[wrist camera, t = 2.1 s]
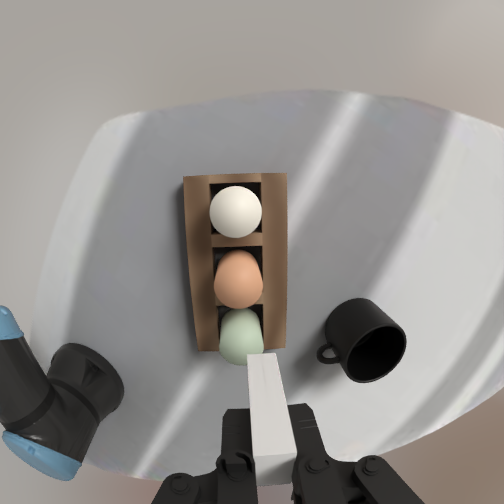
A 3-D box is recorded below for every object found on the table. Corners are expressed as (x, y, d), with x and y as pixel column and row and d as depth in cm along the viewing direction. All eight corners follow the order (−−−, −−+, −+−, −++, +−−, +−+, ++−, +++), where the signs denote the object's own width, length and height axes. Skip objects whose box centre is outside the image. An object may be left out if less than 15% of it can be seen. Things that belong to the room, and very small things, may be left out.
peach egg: (218, 289, 34) (215, 309, 28) (216, 250, 33) (212, 263, 27) (258, 287, 34) (263, 307, 28) (258, 248, 33) (262, 261, 27)
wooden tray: (200, 340, 38) (198, 351, 35) (187, 177, 33) (183, 176, 30) (282, 336, 39) (285, 347, 36) (282, 174, 33) (286, 173, 31)
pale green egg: (222, 340, 36) (221, 366, 30) (220, 307, 34) (217, 330, 29) (259, 338, 36) (263, 364, 30) (259, 305, 35) (263, 328, 29)
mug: (302, 315, 38) (319, 348, 29) (375, 288, 38) (406, 312, 29) (314, 363, 40) (330, 399, 32) (380, 337, 40) (406, 366, 31)
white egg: (215, 229, 32) (210, 238, 26) (213, 187, 31) (208, 187, 25) (257, 228, 32) (262, 237, 26) (256, 186, 31) (261, 185, 25)
